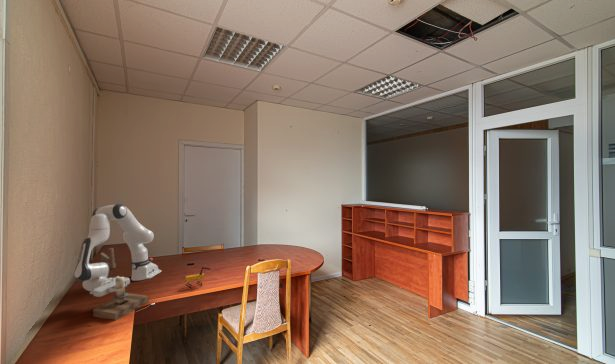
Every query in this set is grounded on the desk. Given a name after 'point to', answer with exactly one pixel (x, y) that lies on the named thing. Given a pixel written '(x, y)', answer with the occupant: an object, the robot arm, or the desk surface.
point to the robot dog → (195, 277)
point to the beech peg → (120, 290)
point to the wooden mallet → (109, 258)
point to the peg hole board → (120, 307)
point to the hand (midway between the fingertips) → (121, 288)
